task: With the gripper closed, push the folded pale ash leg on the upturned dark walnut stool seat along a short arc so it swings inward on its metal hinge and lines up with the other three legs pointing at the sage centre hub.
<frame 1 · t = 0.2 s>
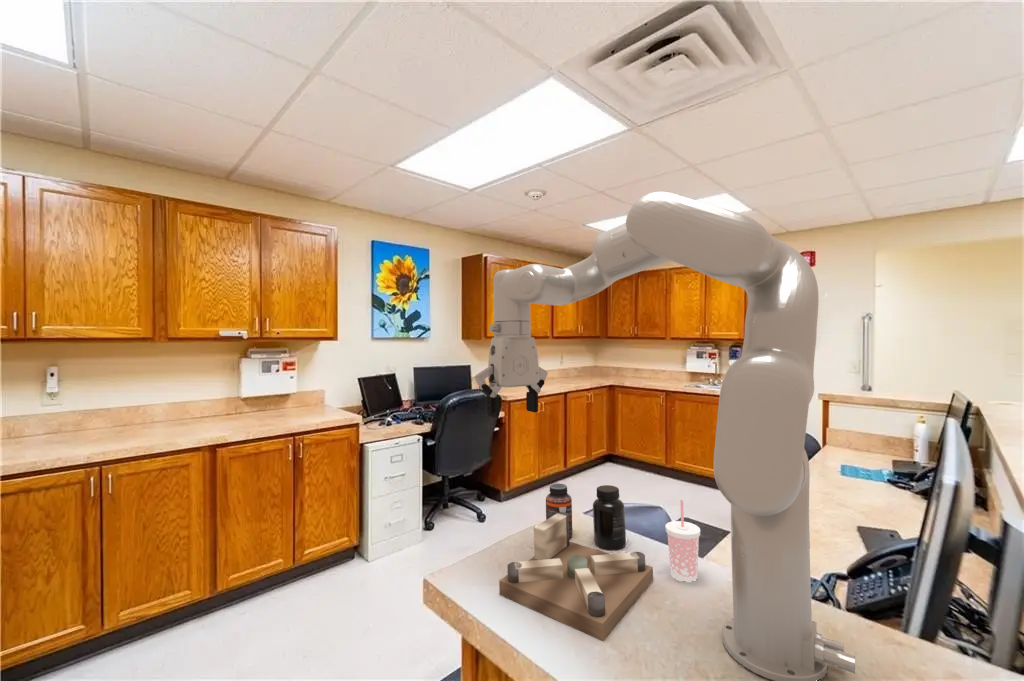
hand: (513, 413, 89), 30 cm above the countertop, tool pointing down, fingers open, 9 cm apart
hinged leg: (553, 535, 87), point 6 cm above the countertop, hinge at 0.0°
beverage cup: (684, 576, 81), on the countertop
stool seat: (577, 587, 78), on the countertop
supplement bottle: (609, 544, 95), on the countertop
supplement bottle 2: (559, 536, 99), on the countertop
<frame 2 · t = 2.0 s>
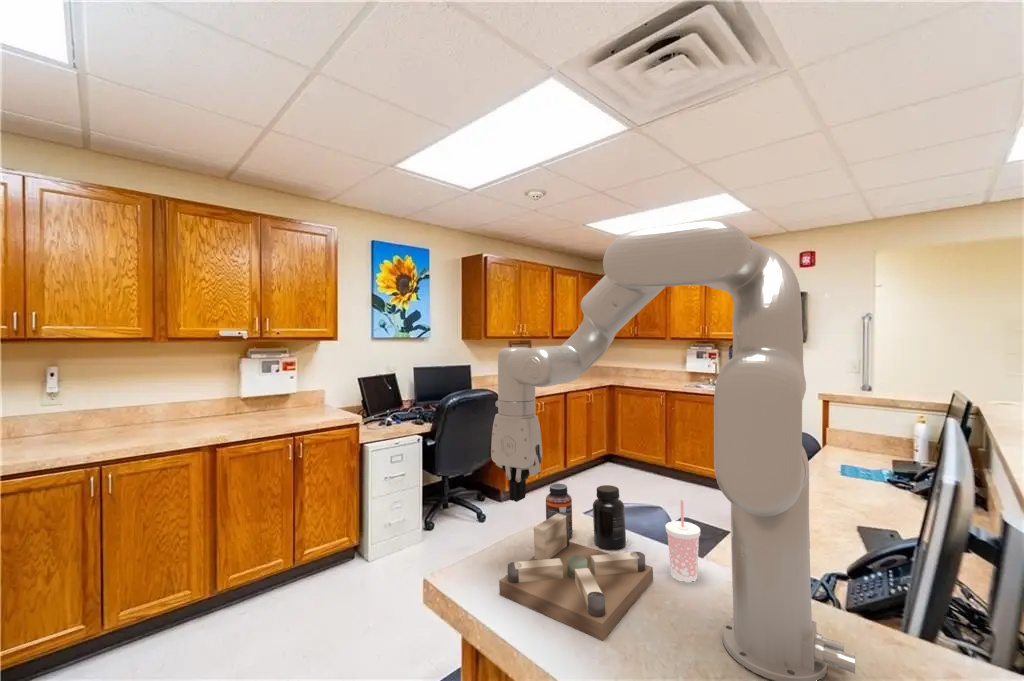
hand: (517, 498, 88), 13 cm above the countertop, tool pointing down, fingers closed
nothing on the countertop moved.
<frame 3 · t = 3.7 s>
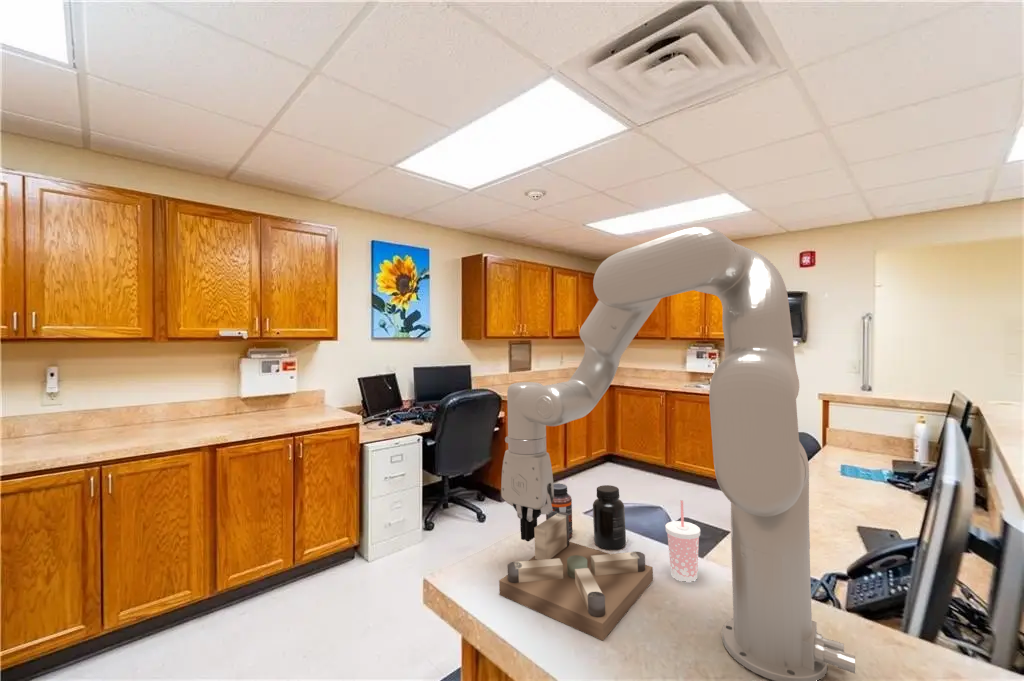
hand: (529, 537, 86), 6 cm above the countertop, tool pointing down, fingers closed
hinged leg: (553, 535, 87), point 6 cm above the countertop, hinge at 1.1°, touching gripper
everything else where it was.
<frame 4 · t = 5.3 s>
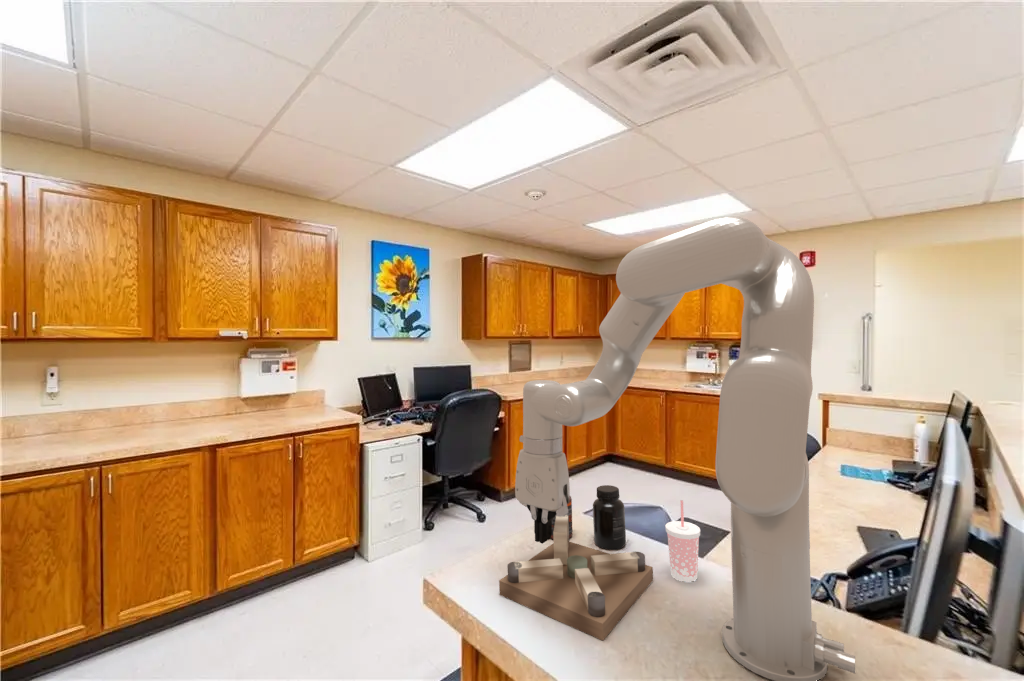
hand: (543, 539, 84), 6 cm above the countertop, tool pointing down, fingers closed
hinged leg: (561, 536, 86), point 6 cm above the countertop, hinge at 28.8°, touching gripper
everything else where it was.
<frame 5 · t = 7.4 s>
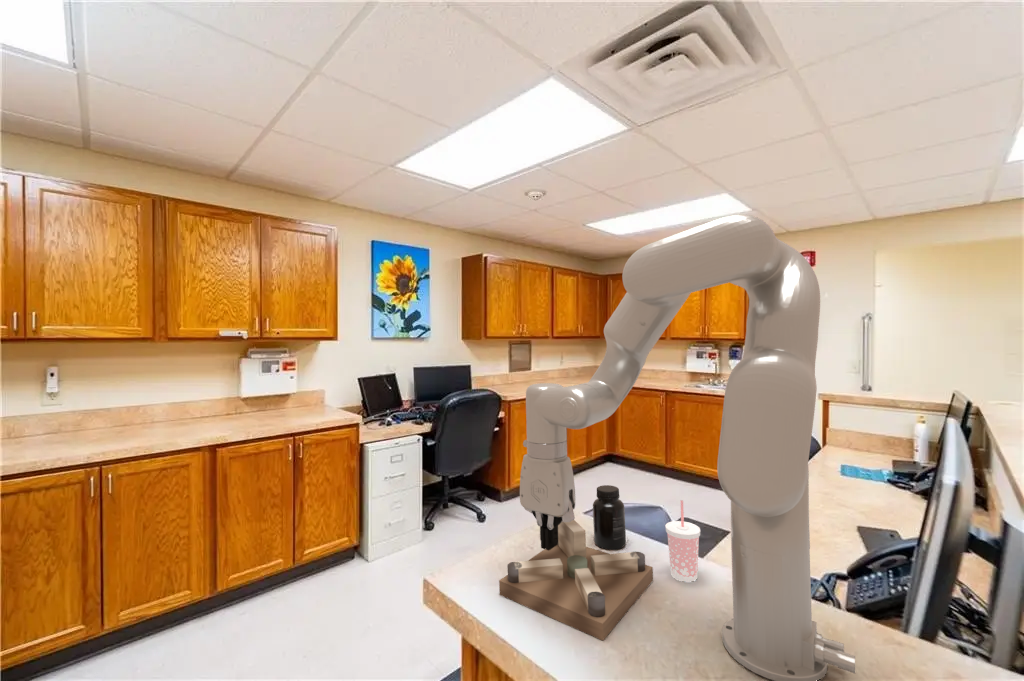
hand: (549, 546, 82), 6 cm above the countertop, tool pointing down, fingers closed
hinged leg: (569, 536, 86), point 6 cm above the countertop, hinge at 54.4°
everything else where it was.
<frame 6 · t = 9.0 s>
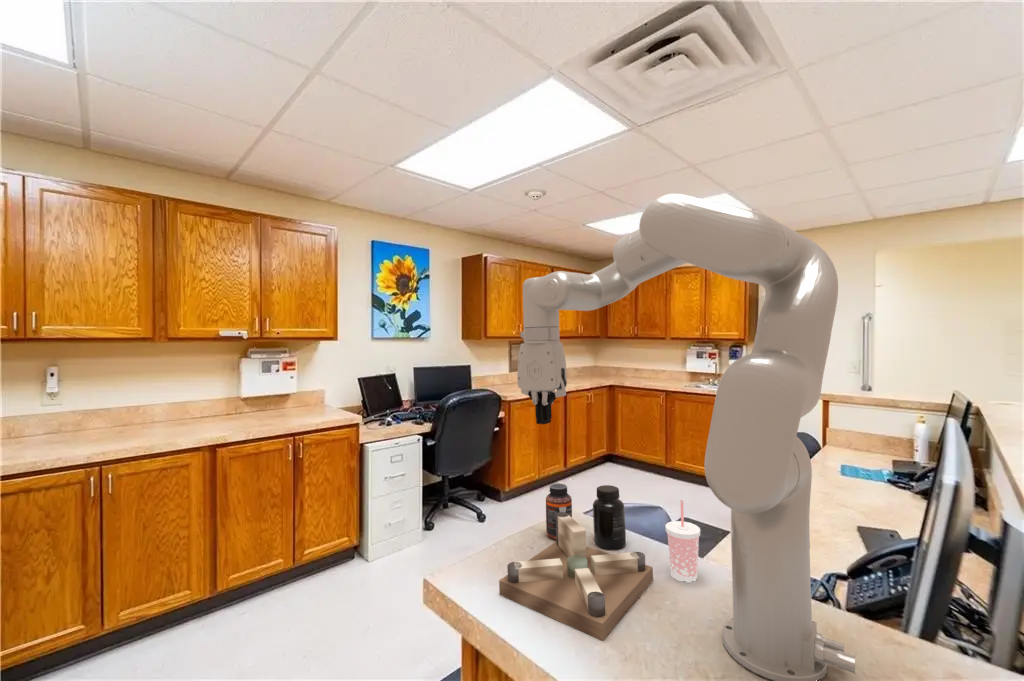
hand: (543, 423, 92), 27 cm above the countertop, tool pointing down, fingers closed
nothing on the countertop moved.
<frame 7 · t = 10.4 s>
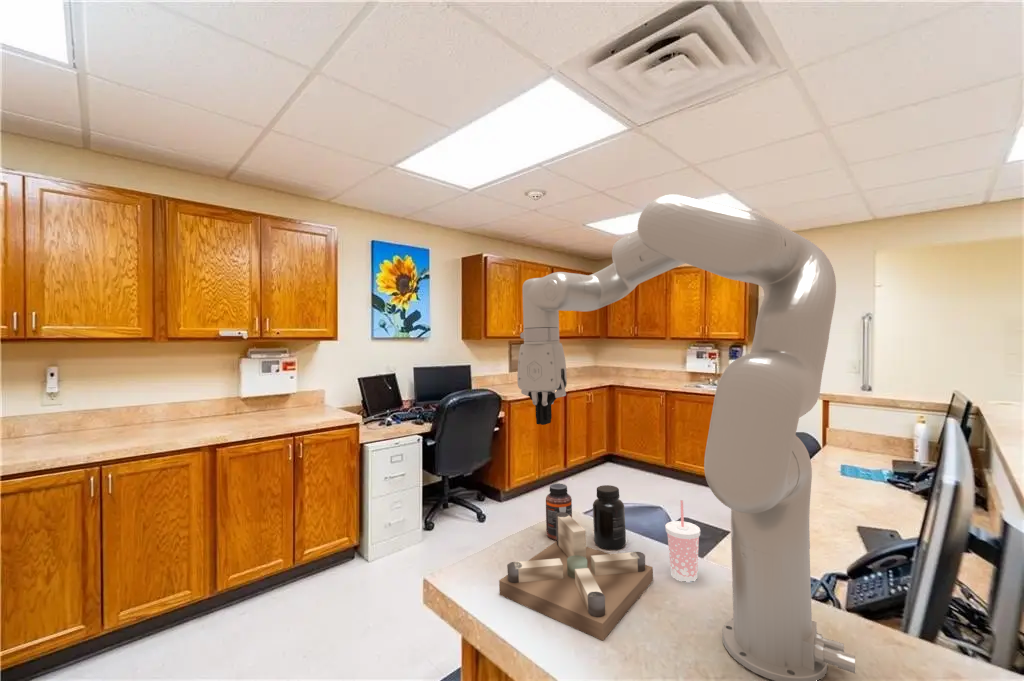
hand: (543, 423, 92), 27 cm above the countertop, tool pointing down, fingers closed
nothing on the countertop moved.
at the end: hinged leg at +54° (first picture: +0°); supplement bottle moved 0.2 cm from its start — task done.
